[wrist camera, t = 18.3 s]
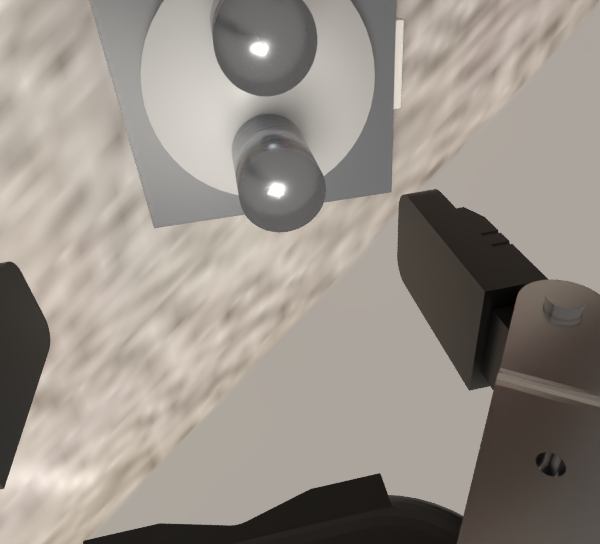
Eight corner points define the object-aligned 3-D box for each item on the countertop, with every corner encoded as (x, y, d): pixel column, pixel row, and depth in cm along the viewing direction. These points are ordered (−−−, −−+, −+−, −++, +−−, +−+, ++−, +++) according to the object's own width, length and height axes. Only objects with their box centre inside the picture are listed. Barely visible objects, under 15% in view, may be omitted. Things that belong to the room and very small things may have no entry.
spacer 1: (202, -21, 24) (203, -11, 20) (290, -31, 25) (313, -24, 20) (218, 73, 27) (223, 102, 22) (298, 62, 27) (320, 89, 22)
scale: (85, -68, 27) (65, -69, 23) (387, -97, 28) (419, -103, 24) (158, 201, 36) (153, 235, 32) (383, 168, 37) (406, 196, 33)
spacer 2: (225, 120, 28) (231, 159, 23) (301, 108, 29) (322, 144, 24) (238, 190, 31) (246, 238, 26) (307, 178, 31) (328, 224, 26)
